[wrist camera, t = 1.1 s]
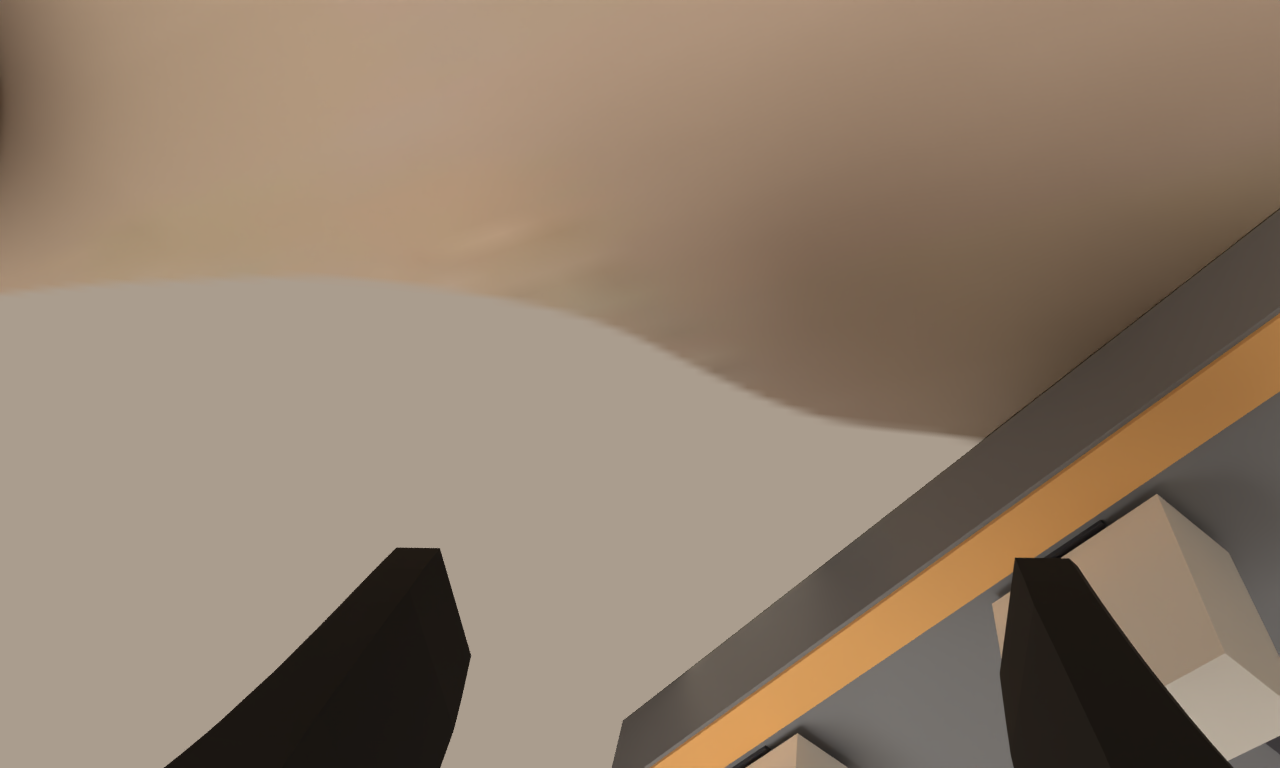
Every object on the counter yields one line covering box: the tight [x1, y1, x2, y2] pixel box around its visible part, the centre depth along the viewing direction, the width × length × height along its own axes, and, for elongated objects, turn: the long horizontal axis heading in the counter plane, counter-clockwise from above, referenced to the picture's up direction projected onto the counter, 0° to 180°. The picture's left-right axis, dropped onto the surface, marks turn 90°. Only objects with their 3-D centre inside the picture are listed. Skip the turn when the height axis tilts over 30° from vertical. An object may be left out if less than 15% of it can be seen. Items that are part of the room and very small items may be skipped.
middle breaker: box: [992, 494, 1280, 761], centre depth 18 cm, size 2×4×4 cm, turn 143°
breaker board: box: [612, 209, 1280, 768], centre depth 22 cm, size 11×28×3 cm, turn 143°
